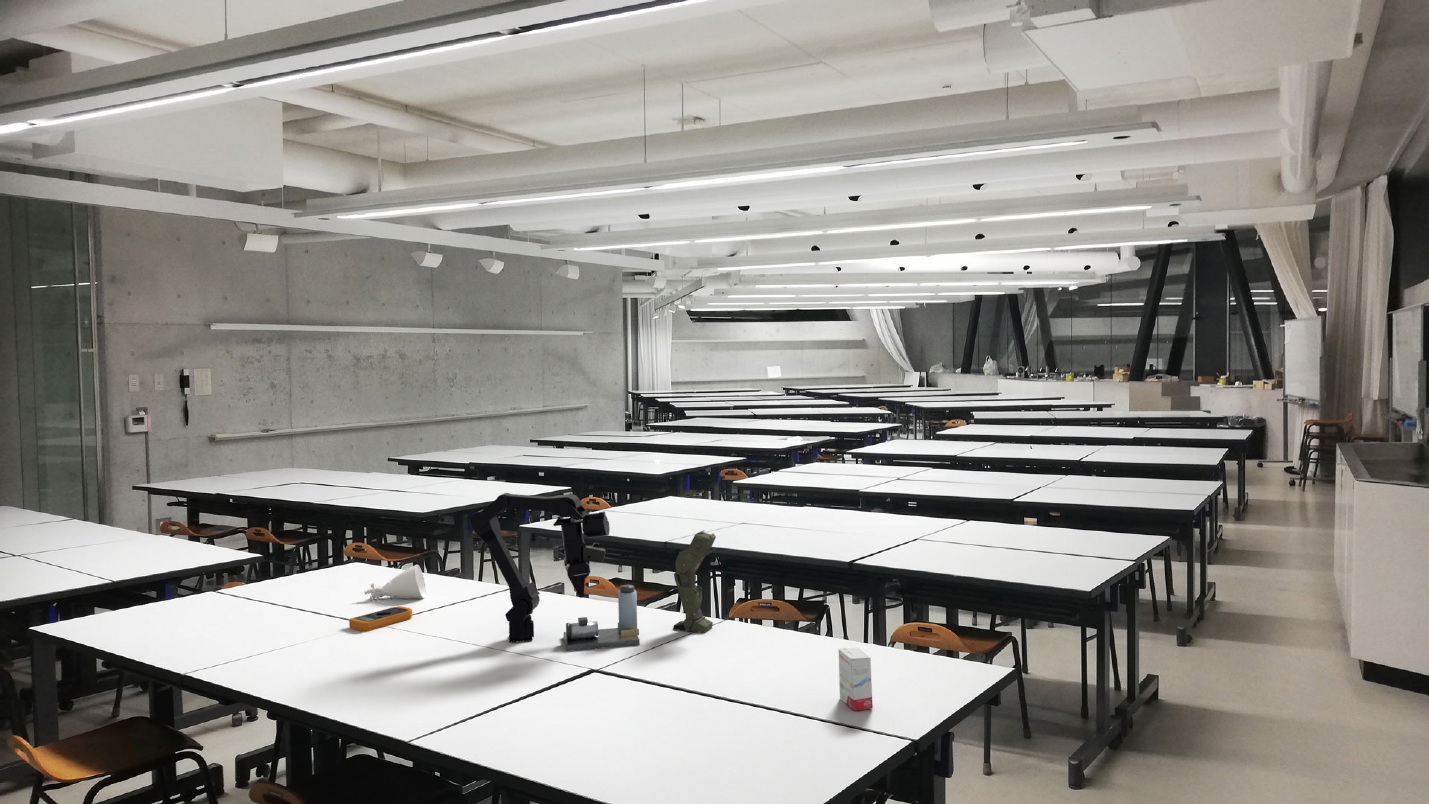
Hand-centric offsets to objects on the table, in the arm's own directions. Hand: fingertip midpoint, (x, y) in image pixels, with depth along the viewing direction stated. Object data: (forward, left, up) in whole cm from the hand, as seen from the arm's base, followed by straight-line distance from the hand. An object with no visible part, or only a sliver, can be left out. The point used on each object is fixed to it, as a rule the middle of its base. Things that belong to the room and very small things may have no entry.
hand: (580, 594), depth 262 cm
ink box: (+56, -66, -13) cm, 88 cm away
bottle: (+13, 0, -12) cm, 18 cm away
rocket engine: (-56, +66, -14) cm, 88 cm away
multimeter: (-58, +35, -14) cm, 69 cm away
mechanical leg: (+33, +2, -13) cm, 36 cm away
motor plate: (+5, -2, -13) cm, 14 cm away
